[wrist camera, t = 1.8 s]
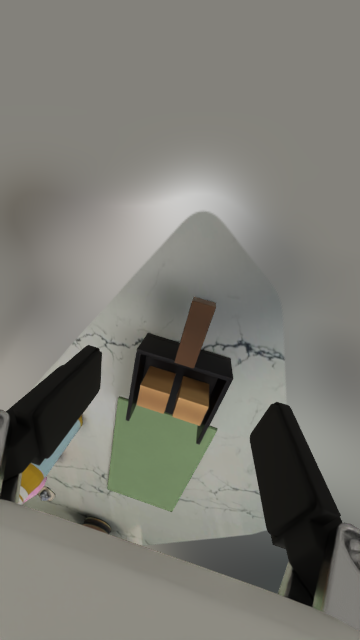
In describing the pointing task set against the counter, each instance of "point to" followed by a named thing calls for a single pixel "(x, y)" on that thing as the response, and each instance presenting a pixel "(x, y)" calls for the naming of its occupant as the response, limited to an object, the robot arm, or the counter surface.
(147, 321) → the counter surface
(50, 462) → the bottle
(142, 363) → the pan
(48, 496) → the blueberries
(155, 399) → the block
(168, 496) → the mat
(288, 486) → the robot arm
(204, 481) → the counter surface
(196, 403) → the block
